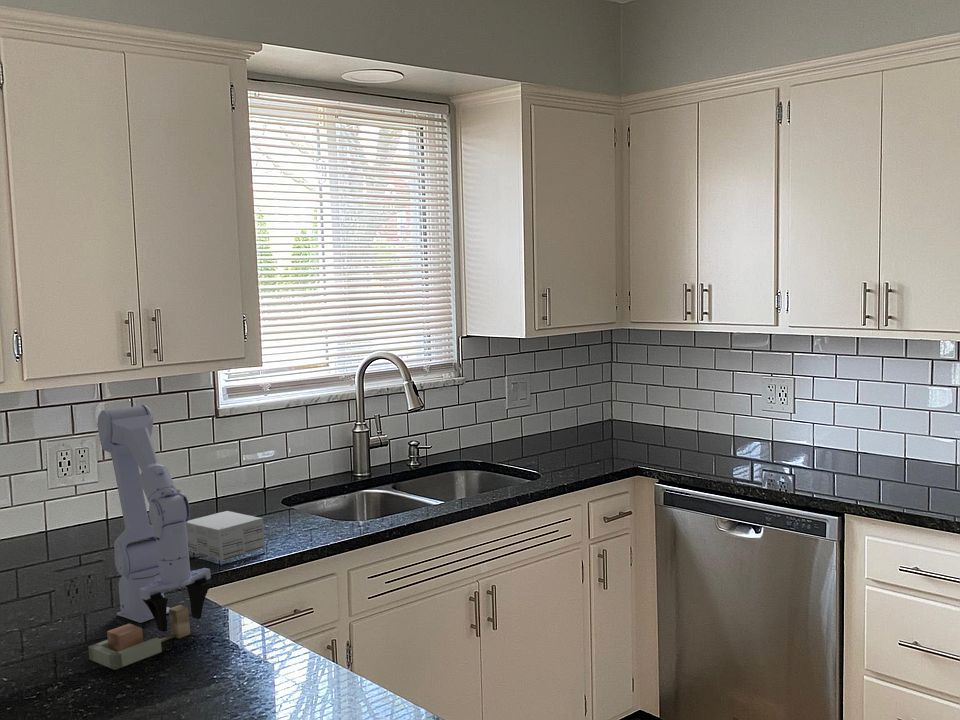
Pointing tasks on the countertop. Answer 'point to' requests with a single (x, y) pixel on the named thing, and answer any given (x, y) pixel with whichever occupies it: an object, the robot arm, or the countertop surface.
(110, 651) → the pale green u-shape
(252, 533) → the supplement box
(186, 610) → the corded block
